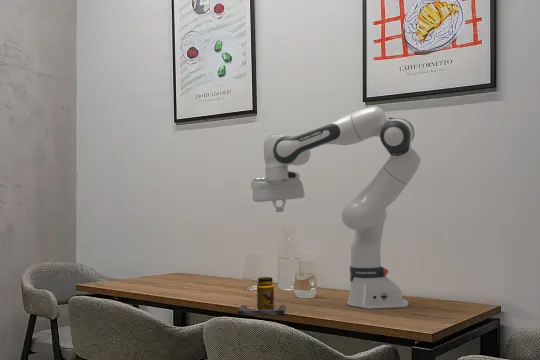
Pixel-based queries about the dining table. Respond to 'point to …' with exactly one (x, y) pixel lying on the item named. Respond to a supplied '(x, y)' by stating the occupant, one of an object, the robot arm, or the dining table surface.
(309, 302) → the dining table surface
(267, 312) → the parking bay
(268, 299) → the condiment
